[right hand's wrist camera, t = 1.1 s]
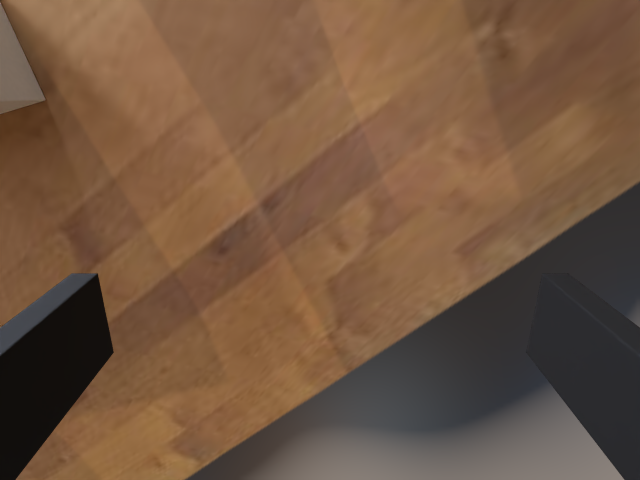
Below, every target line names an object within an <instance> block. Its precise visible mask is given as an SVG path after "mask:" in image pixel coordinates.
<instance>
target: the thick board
mask: <svg viewBox="0 0 640 480" xmlns="http://www.w3.org/2000/svg"><path fill="white" fill-rule="evenodd" d="M42 101H45V97H44V95H43V93H42V91H41V89H40V86H39V84H38V82H37V80H36V78H35V76H34V74H33V71H32V69H31V67H30V65H29V63H28V61H27V58H26V56H25V54H24V52H23V50H22V48H21V46H20V43H19V41H18V39H17V37H16V35H15V33H14V30H13V28H12V26H11V24H10V22H9V20H8V17H7V15H6V13H5V11H4V9H3V7H2V5H1V2H0V114H2V113H6V112H9V111H12V110H16V109H19V108H22V107H25V106H29V105H32V104H35V103H39V102H42Z"/></svg>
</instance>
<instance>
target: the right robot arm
mask: <svg viewBox="0 0 640 480" xmlns="http://www.w3.org/2000/svg"><path fill="white" fill-rule="evenodd" d="M113 353H114V351H113V347H112V342H111V337H110V332H109V327H108V322H107V317H106V312H105V307H104V302H103V297H102V292H101V287H100V282H99V278H98V274H71V275H69V276H68V277H67V278H65V279H64V280H63V281H61V282H60V283H59V284H57V285H56V286H55V287H53V288H52V289H51V290H49V291H48V292H47V293H45V294H44V295H43V296H41V297H40V298H39V299H38V300H36V301H35V302H34V303H32V304H31V305H30V306H28V307H27V308H26V309H24V310H23V311H22V312H20V313H19V314H18V315H16V316H15V317H14V318H12V319H11V320H10V321H8V322H7V323H6V324H5V325H3V326H2V327H1V328H0V480H16V478H17V477H18V476H19V474H20V473H21V472H22V470H23V469H24V468H25V467H26V465H27V464H28V463H29V461H30V460H31V459H32V458H33V456H34V455H35V454H36V452H37V451H38V450H39V448H40V447H41V446H42V445H43V443H44V442H45V441H46V439H47V438H48V437H49V436H50V434H51V433H52V432H53V430H54V429H55V428H56V426H57V425H58V424H59V423H60V421H61V420H62V419H63V417H64V416H65V415H66V414H67V412H68V411H69V410H70V408H71V407H72V406H73V404H74V403H75V402H76V401H77V399H78V398H79V397H80V395H81V394H82V393H83V392H84V390H85V389H86V388H87V386H88V385H89V384H90V382H91V381H92V380H93V379H94V377H95V376H96V375H97V373H98V372H99V371H100V370H101V368H102V367H103V366H104V364H105V363H106V362H107V360H108V359H109V358H110V357H111V355H112V354H113ZM526 353H527V354H528V355H529V357H530V358H531V359H532V360H533V362H534V363H535V364H536V366H537V367H538V368H539V370H540V371H541V372H542V373H543V375H544V376H545V377H546V379H547V380H548V381H549V382H550V384H551V385H552V386H553V388H554V389H555V390H556V391H557V393H558V394H559V395H560V397H561V398H562V399H563V400H564V402H565V403H566V404H567V406H568V407H569V408H570V410H571V411H572V412H573V414H574V415H575V416H576V417H577V419H578V420H579V421H580V423H581V424H582V425H583V426H584V428H585V429H586V430H587V432H588V433H589V434H590V436H591V437H592V438H593V439H594V441H595V442H596V443H597V445H598V446H599V447H600V448H601V450H602V451H603V452H604V454H605V455H606V456H607V457H608V459H609V460H610V461H611V463H612V464H613V465H614V466H615V468H616V469H617V470H618V472H619V473H620V474H621V476H622V477H623V478H624V480H640V328H639V327H638V326H637V325H635V324H634V323H633V322H632V321H630V320H629V319H628V318H626V317H625V316H624V315H622V314H621V313H620V312H618V311H617V310H616V309H614V308H613V307H612V306H610V305H609V304H608V303H606V302H605V301H604V300H602V299H601V298H600V297H599V296H597V295H596V294H595V293H593V292H592V291H591V290H589V289H588V288H587V287H585V286H584V285H583V284H581V283H580V282H579V281H577V280H576V279H575V278H573V277H572V276H571V275H569V274H542V278H541V282H540V287H539V292H538V297H537V302H536V307H535V312H534V317H533V322H532V327H531V332H530V337H529V342H528V347H527V351H526Z"/></svg>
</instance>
